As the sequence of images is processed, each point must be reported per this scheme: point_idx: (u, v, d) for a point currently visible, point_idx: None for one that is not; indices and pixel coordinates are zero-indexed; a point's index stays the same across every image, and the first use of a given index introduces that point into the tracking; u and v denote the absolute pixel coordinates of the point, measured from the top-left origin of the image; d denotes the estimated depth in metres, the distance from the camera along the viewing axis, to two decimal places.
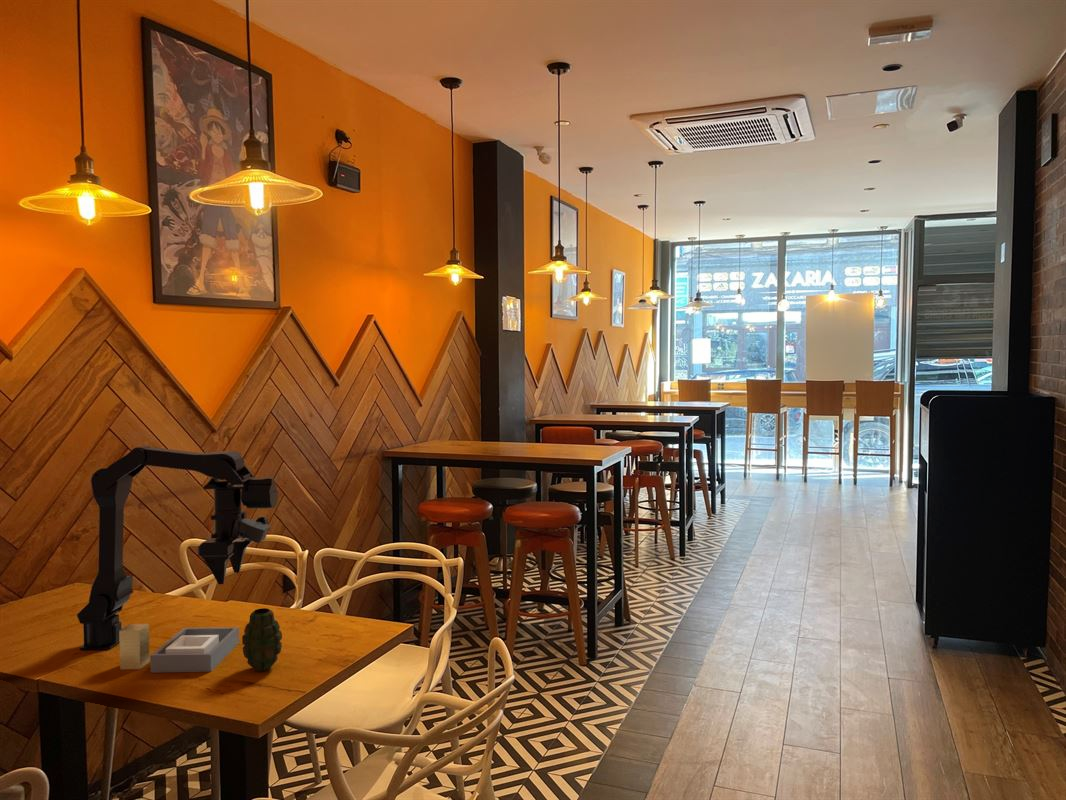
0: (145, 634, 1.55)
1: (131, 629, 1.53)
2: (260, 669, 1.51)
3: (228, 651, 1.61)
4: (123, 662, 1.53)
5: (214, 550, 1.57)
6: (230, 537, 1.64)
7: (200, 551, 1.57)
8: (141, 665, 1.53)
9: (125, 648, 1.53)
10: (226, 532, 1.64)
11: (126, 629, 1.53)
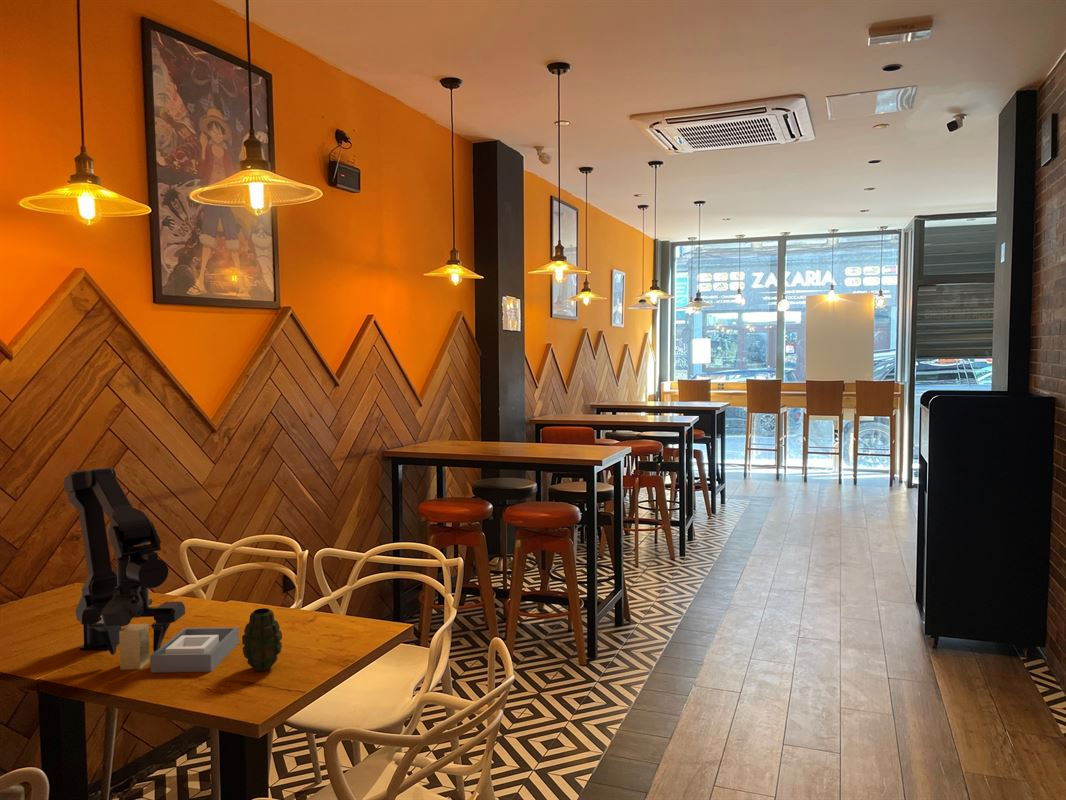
0: (145, 634, 1.55)
1: (131, 629, 1.53)
2: (260, 669, 1.51)
3: (228, 651, 1.61)
4: (123, 662, 1.53)
5: None
6: None
7: None
8: (141, 665, 1.53)
9: (125, 648, 1.53)
10: None
11: (126, 629, 1.53)
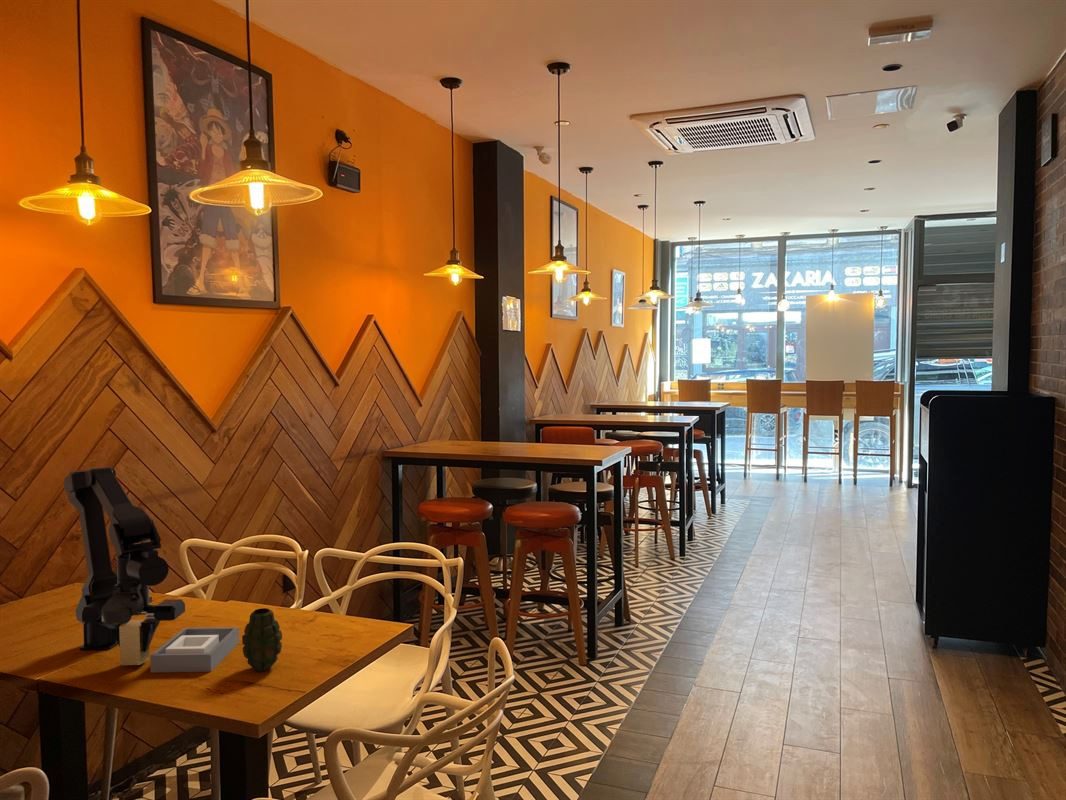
0: None
1: (131, 624, 1.53)
2: (260, 669, 1.51)
3: (228, 651, 1.61)
4: (123, 658, 1.53)
5: None
6: None
7: None
8: (141, 661, 1.53)
9: (125, 643, 1.53)
10: None
11: (126, 625, 1.53)
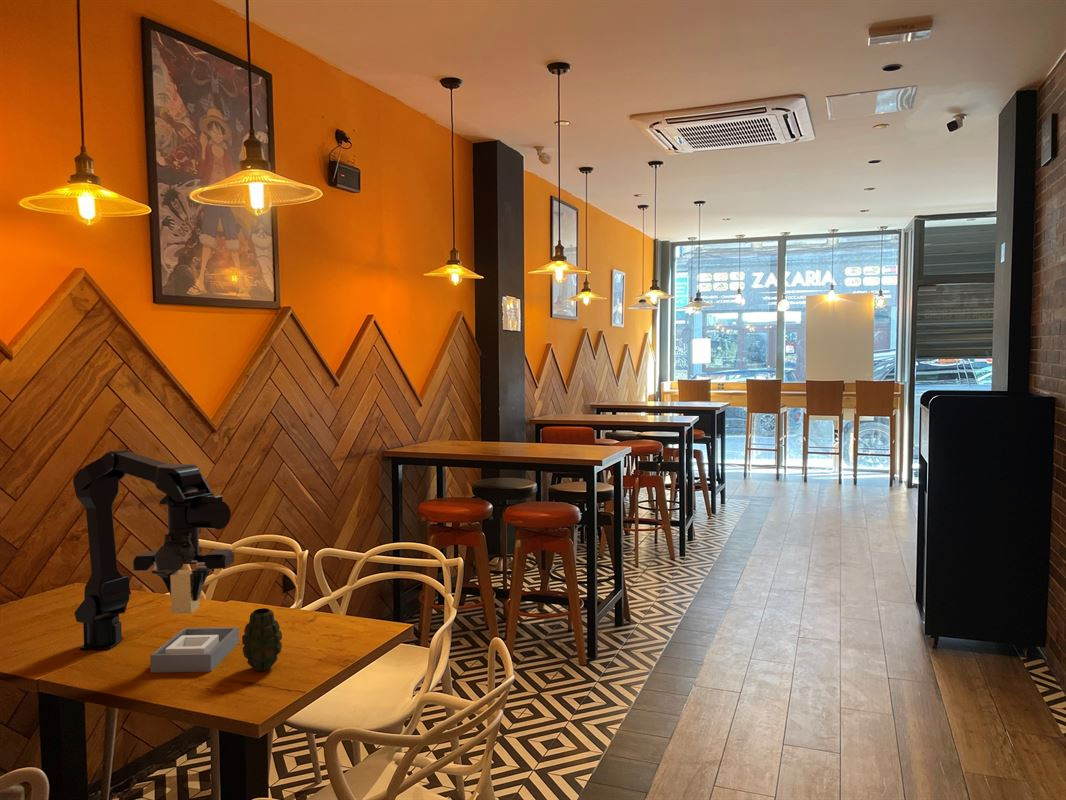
0: None
1: (182, 573, 1.55)
2: (260, 669, 1.51)
3: (228, 651, 1.61)
4: (174, 606, 1.54)
5: None
6: None
7: None
8: (192, 609, 1.55)
9: (176, 592, 1.54)
10: None
11: (177, 574, 1.54)
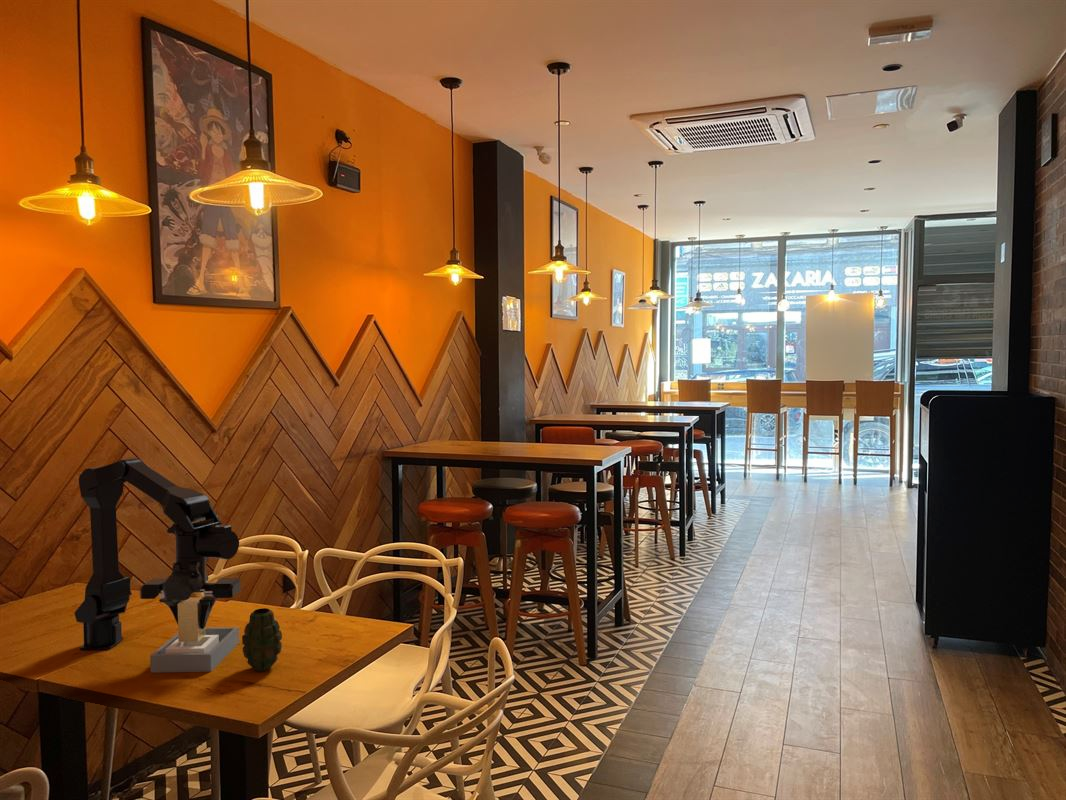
0: None
1: (189, 602, 1.56)
2: (260, 669, 1.51)
3: (228, 651, 1.61)
4: (181, 635, 1.55)
5: None
6: None
7: None
8: (199, 638, 1.56)
9: (183, 621, 1.55)
10: None
11: (184, 602, 1.55)
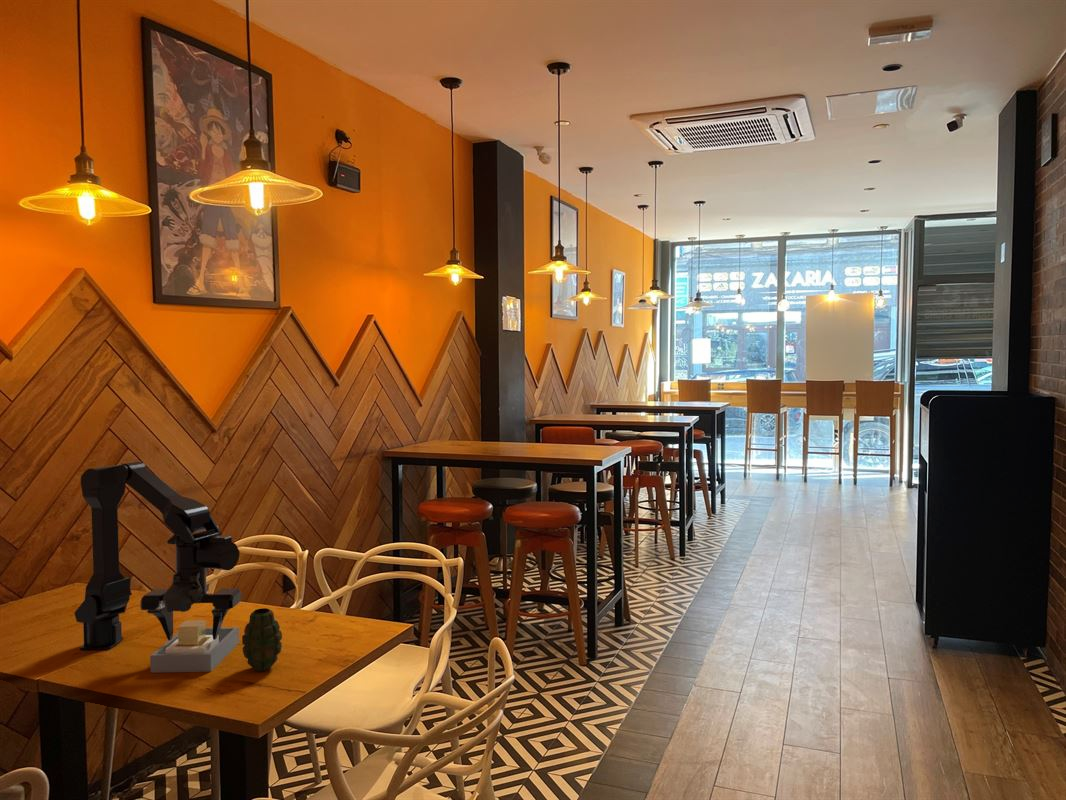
0: (202, 630, 1.58)
1: (189, 625, 1.56)
2: (260, 669, 1.51)
3: (228, 651, 1.61)
4: None
5: None
6: None
7: None
8: None
9: (184, 643, 1.55)
10: None
11: (184, 625, 1.55)
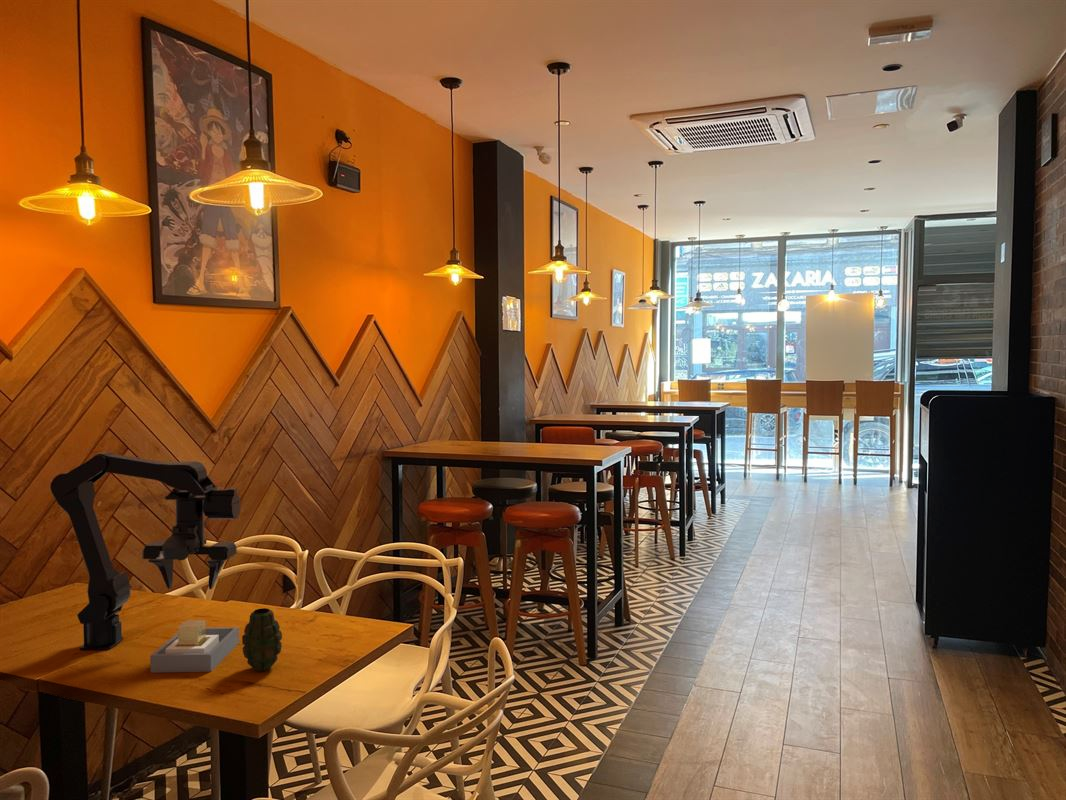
0: (202, 630, 1.58)
1: (189, 625, 1.56)
2: (260, 669, 1.51)
3: (228, 651, 1.61)
4: None
5: None
6: None
7: None
8: None
9: (184, 643, 1.55)
10: None
11: (184, 625, 1.55)
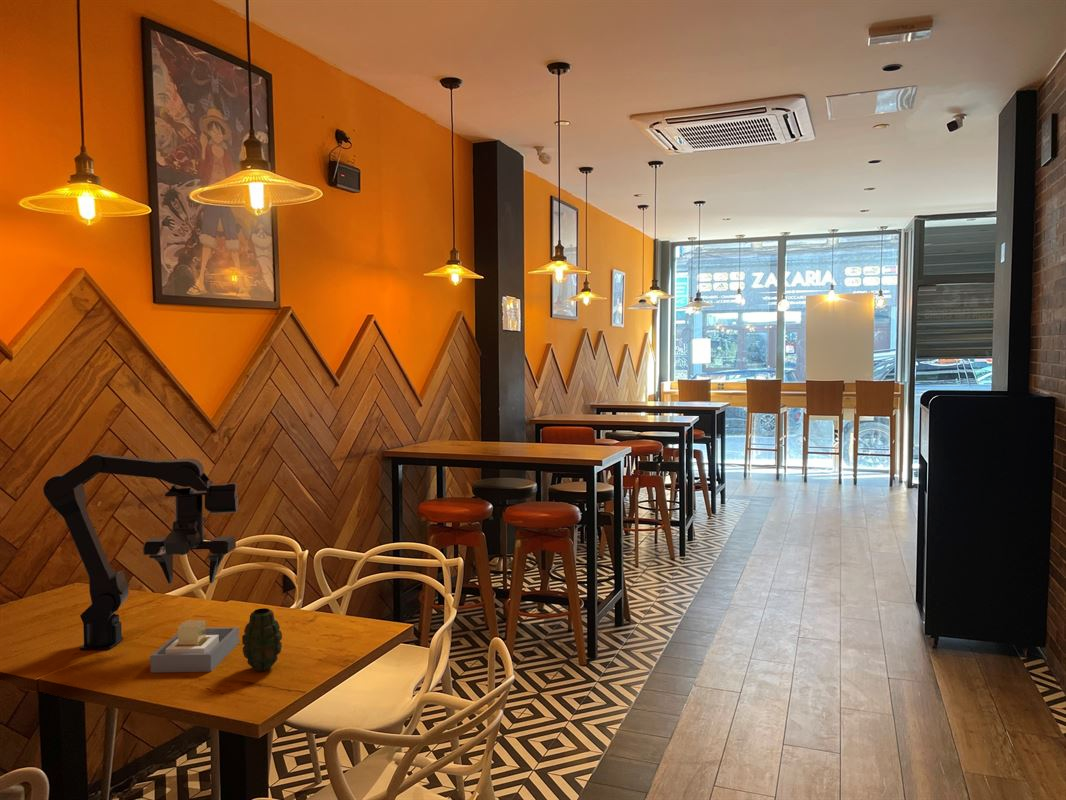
0: (202, 630, 1.58)
1: (189, 625, 1.56)
2: (260, 669, 1.51)
3: (228, 651, 1.61)
4: None
5: None
6: None
7: None
8: None
9: (184, 643, 1.55)
10: None
11: (184, 625, 1.55)
